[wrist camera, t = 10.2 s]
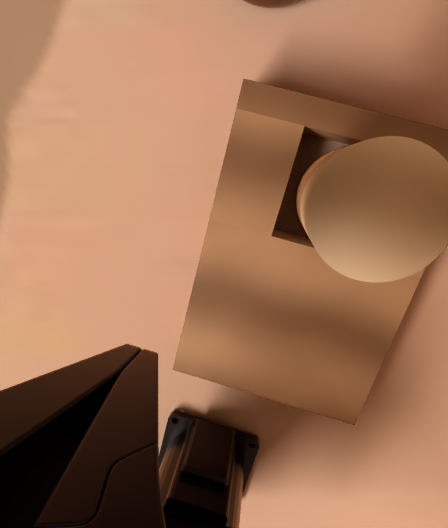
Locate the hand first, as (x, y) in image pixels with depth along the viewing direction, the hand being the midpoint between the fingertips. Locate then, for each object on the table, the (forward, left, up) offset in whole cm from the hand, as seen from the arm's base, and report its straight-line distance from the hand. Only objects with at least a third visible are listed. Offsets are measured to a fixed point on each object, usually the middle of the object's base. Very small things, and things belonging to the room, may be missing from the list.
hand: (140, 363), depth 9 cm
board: (+1, -5, -12) cm, 14 cm away
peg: (+5, -6, -12) cm, 15 cm away
